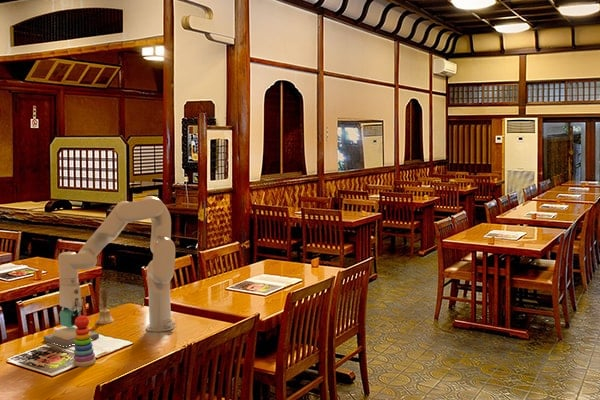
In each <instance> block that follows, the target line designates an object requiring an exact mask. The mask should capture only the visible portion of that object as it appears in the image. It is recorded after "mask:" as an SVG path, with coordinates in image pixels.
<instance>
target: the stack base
mask: <svg viewBox="0 0 600 400" xmlns="http://www.w3.org/2000/svg"><path fill="white" fill-rule="evenodd" d="M76 329H77V327H76V326H72V327H65V326H60V327H57V328H56V327H55V328H53V333H50V334H48V335H44V336H43V341H44V342H46V343H48V344H51V343H55V344H58V345H61V346H64V347H66V346H69V345H72V344H75V340H76V338H75V336H76V332H75V330H76ZM89 333H90V334H91V337H90V338H91V339H94V340H96V339H95V338H98V339H99V338H100V334H99V333H98V332H96V331H95V332H94V331H91V330H90V331H89Z"/></svg>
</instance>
